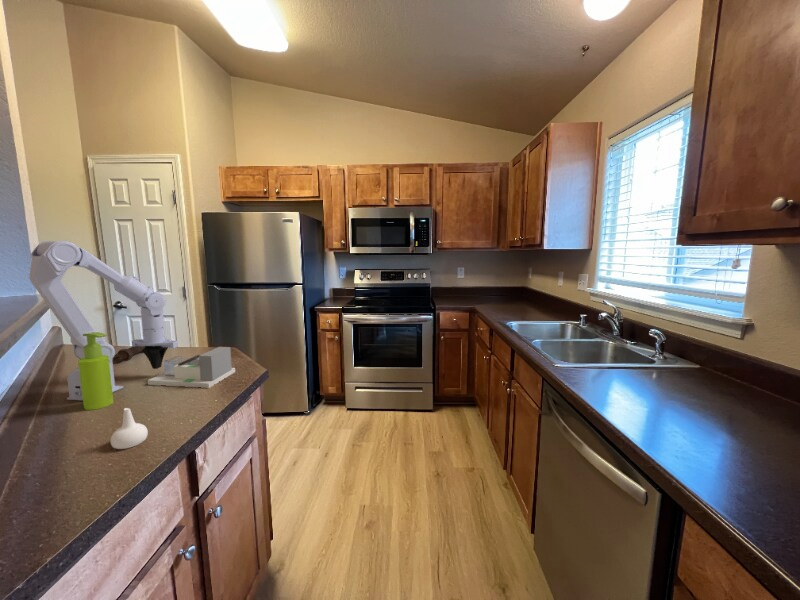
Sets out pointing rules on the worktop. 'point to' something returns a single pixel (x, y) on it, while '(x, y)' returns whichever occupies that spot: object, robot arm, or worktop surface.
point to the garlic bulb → (128, 433)
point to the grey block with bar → (179, 363)
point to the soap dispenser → (95, 374)
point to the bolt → (127, 353)
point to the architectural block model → (199, 371)
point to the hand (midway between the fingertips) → (157, 367)
